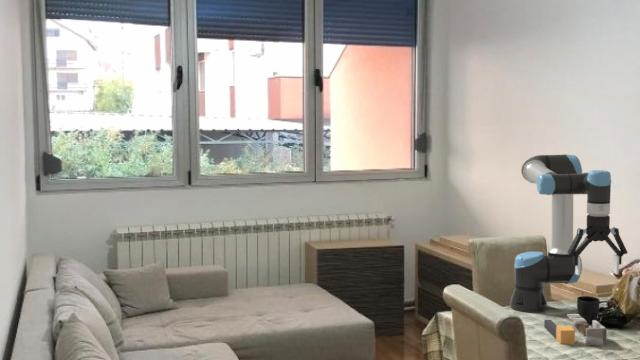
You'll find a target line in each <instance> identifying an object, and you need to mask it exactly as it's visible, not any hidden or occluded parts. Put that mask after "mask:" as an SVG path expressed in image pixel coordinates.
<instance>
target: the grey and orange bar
mask: <svg viewBox="0 0 640 360" xmlns="http://www.w3.org/2000/svg"><path fill="white" fill-rule="evenodd" d="M543 324H544V325H543V326H544V328H545V330H546V331H547V332H548V333H549V334H550V335H551V336H552V337H553V338H554V339H555V340H556V341H557V342H558V343H559V344H560V345H574V344H576V343H575V341H576V339H575V338H576V337H575V336H576V333H575V329H574V327H572V326H571V325H557V324H556V323H555V322H554V321H553V320H552V319H544V322H543Z"/></svg>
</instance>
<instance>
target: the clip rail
mask: <svg viewBox="0 0 640 360" xmlns="http://www.w3.org/2000/svg"><path fill="white" fill-rule="evenodd" d="M566 317H567V318H568V319H569V320H571V321H572V322H573V328H575V329H576V330H577V331H578V332H579V333H581V334H582V335H583V336H584V337H585V341H584V342H585V346H607V336H608V335H607V330H608V329H607V328H606V327H605V326H604V325H602V324H601V323H600V321H598V322H597V321H596V320H592V324H591V327H590V324H587V321H586V320H585V319H584V318H582V317H581V316H580V315H579V314H578V313H567V314H566Z"/></svg>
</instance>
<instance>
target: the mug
mask: <svg viewBox="0 0 640 360" xmlns="http://www.w3.org/2000/svg"><path fill="white" fill-rule="evenodd" d="M602 303H603V304H604V303H605V304H606V303H607V307H606V309H605V311H604V312H602V314H601V316H602V315H604V316H605V315H606V314H607V312H608V311H609V309H610V307H611V302H610V301H608V300H601V301H600V299H599V298H598V297H596V296H595V297H594V296H589V295H582V296H577V298H576V307H577V314H579V315H580V316H581V317H582V318H584V319H585V320H586V321H587V324H588V325H592V320H596V321H597V322H600V321H601V320H600V317H601V316H599V312H600V305H601V304H602Z"/></svg>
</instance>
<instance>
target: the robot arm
mask: <svg viewBox="0 0 640 360" xmlns="http://www.w3.org/2000/svg"><path fill="white" fill-rule="evenodd" d="M520 173H521V175H522V177H523V179H524V180H525V181H526V182H528V183H530V184H535V185H536V189H537V192H538V194H540V195H544V196H551V247H550V248H549V249H548V250H547V255H544V252H542V251H525V252H522V253H519V254H517V255H516V256H515V258H514V265H513V266H514V289H513V292H512V295H511V297H510V301H509V307H510V308H511V309H512V310H515V311H518V312H526V313H540V312H546V310H547V309H548V302H547V298H546V295H545V293H544V284H565V285H568V284H575V283H578V281H579V280H580V278H581V275H582V272H583V271H582V270H583V261H582V257H581V256H580V255H581V254H582V252H583V251H584V250H585V249H586V248H587V246H589V244H590V243H592V242H604V241H605V243H606V244H607V245H608V246H609V247H610V248H611V249H612V251H613V252H614V253H615V254H613V270H612V272H613V273H614V274H615V275H619V273H620V266H621V265H622V258H623V256H624V255H627V254H628V250H627V249H626V246H625V243H624V241H623V239H622V238H621V236H620V230H619V229H620V228H618V227H615V226H613V227H612V228H610V221H611V219H610V218H611V217H610V214H611V191H612V190H611V185H612V179H611V178H612V176H611V172H610V171H609V170H601V169H600V170H597V169H595V170H589V171H587V172H583V168H582V164H581V161H580V159H579V157H578V155H577V156H576V155H574V154H539V155H534V156H531V157H530V158H528V159H527V160H526V161H525V162H524V163H523V164H522V166H521V172H520ZM574 195H587V196H586V197H587V198H586V199H587V201H586V214H587V216H586V228H585V229H584V228H580V227H578V228H577V230H576V235H575V237H574ZM585 234H586V236H585V237H584V240H583V241H582V239H583V236H584V235H585ZM610 234H612V236H613V238H614V240H615V242H616V244H617V245H616V244H615V243H614V242H613V240H612V239H611V238H610V237H609V235H610ZM617 246H618V247H617Z"/></svg>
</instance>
